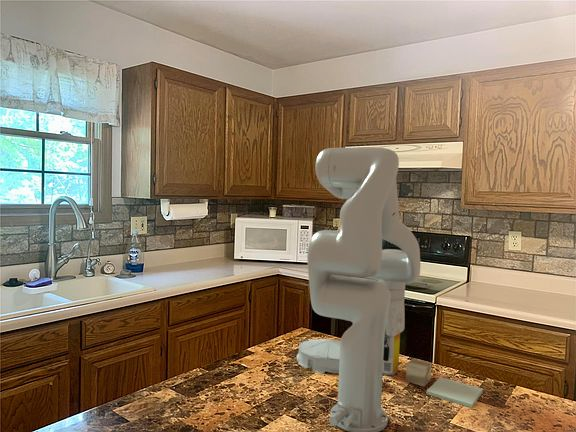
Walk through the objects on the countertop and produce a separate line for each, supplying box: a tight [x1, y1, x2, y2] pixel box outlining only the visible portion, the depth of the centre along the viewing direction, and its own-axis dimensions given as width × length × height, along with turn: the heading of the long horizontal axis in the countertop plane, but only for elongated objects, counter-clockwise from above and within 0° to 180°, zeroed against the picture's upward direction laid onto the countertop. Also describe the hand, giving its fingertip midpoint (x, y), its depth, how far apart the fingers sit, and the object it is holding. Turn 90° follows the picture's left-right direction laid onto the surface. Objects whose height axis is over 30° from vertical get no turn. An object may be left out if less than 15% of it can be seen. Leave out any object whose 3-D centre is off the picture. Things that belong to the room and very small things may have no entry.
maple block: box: [405, 357, 432, 387], centre depth 120 cm, size 5×5×5 cm
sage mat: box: [425, 376, 484, 409], centre depth 113 cm, size 11×11×1 cm
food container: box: [296, 338, 341, 374], centre depth 132 cm, size 20×20×7 cm
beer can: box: [382, 323, 401, 376], centre depth 125 cm, size 6×6×15 cm
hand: (387, 355), depth 125 cm, fingers closed on beer can, 6 cm apart
